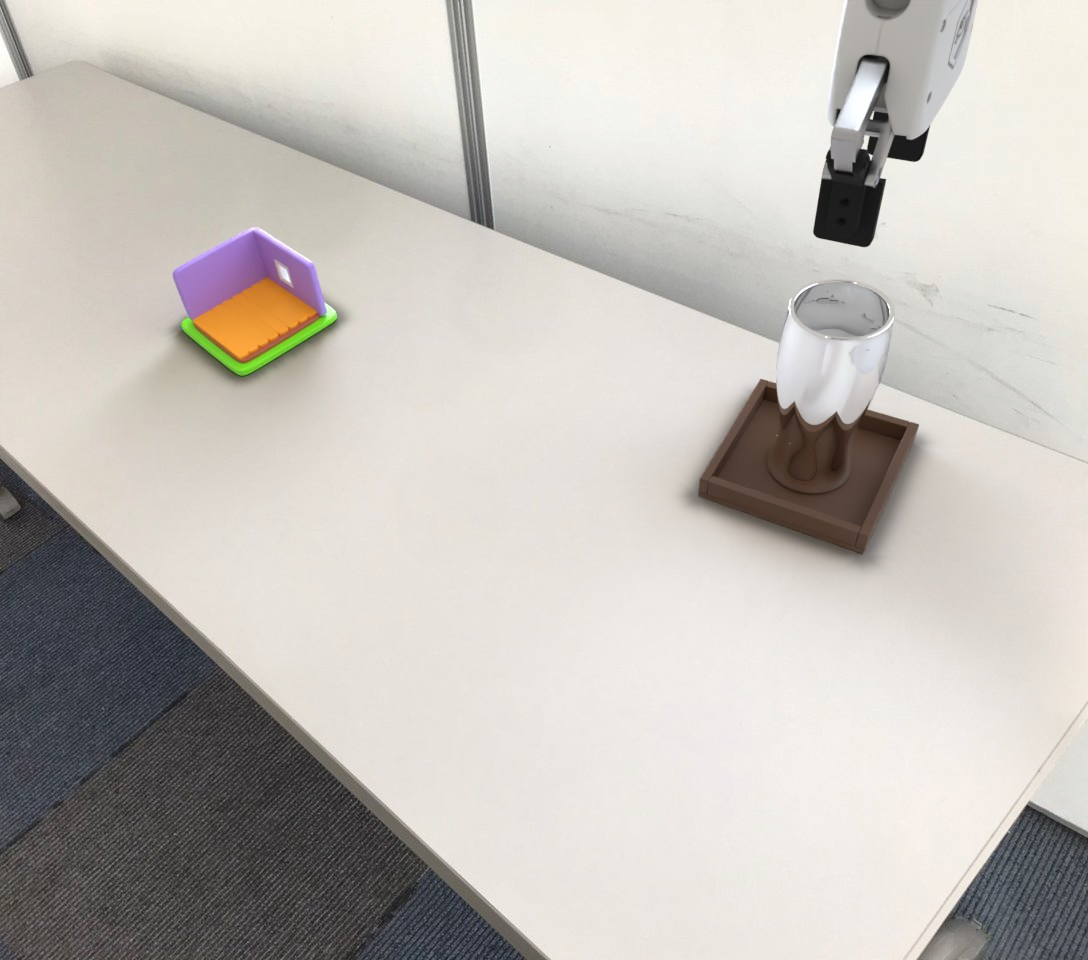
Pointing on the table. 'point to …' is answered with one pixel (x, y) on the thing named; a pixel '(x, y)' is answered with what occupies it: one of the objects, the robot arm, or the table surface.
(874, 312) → the beer glass
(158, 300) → the table surface
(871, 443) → the tray
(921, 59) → the robot arm
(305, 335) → the dollhouse room
